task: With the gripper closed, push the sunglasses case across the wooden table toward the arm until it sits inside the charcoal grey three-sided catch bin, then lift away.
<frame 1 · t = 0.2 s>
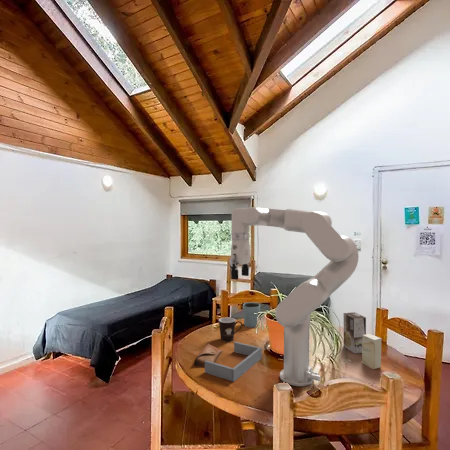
hand: (240, 277, 131), 36 cm above the table, tool pointing down, fingers open, 9 cm apart
skincare box: (371, 365, 129), on the table
sunglasses case: (209, 359, 136), on the table
coffee mug: (230, 340, 158), on the table
coffee box: (354, 349, 145), on the table
blue-grey cylindrical container: (251, 325, 180), on the table
catch bin: (234, 364, 130), on the table
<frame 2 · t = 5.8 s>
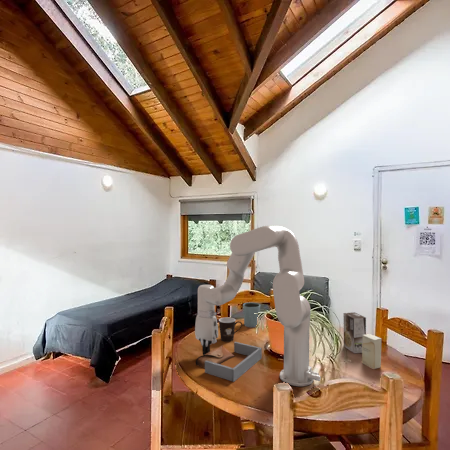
hand: (206, 354, 137), 1 cm above the table, tool pointing down, fingers closed
sunglasses case: (216, 361, 134), on the table, touching gripper
everything else where it was.
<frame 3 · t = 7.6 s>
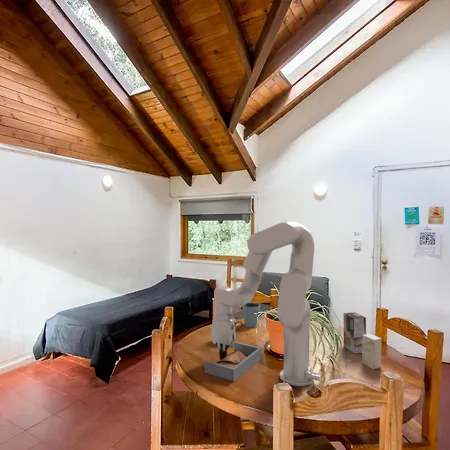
hand: (223, 358, 133), 1 cm above the table, tool pointing down, fingers closed
sunglasses case: (233, 367, 129), on the table
everything else where it was.
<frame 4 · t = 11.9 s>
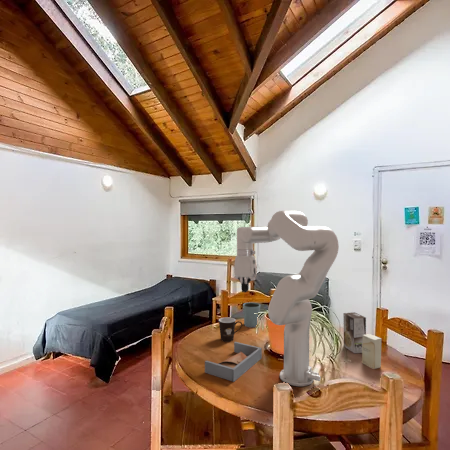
hand: (244, 291, 146), 27 cm above the table, tool pointing down, fingers closed
sunglasses case: (235, 368, 128), on the table
everything else where it was.
at the end: sunglasses case inside the target area (2.9 cm from its centre), on the table; sunglasses case tilted 0° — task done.
